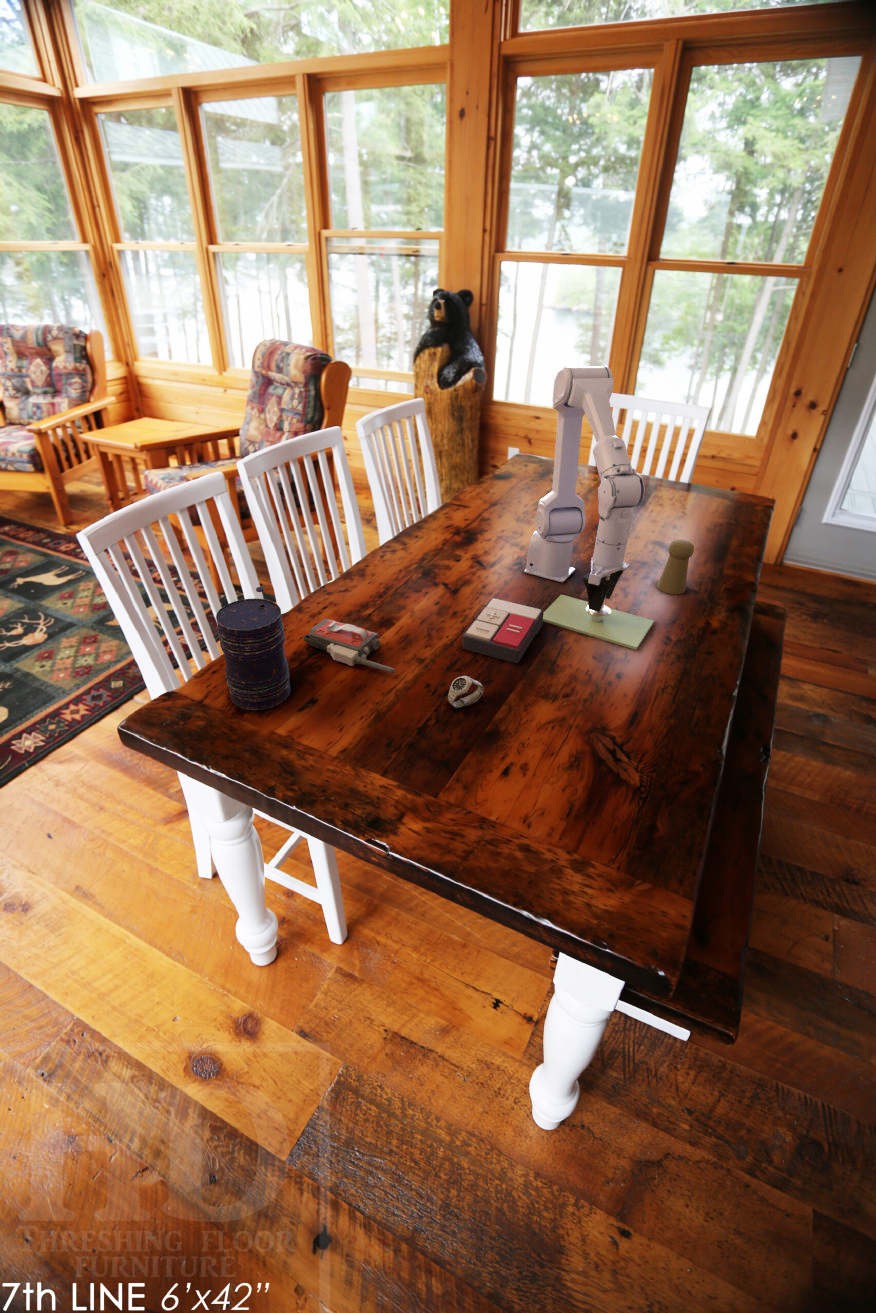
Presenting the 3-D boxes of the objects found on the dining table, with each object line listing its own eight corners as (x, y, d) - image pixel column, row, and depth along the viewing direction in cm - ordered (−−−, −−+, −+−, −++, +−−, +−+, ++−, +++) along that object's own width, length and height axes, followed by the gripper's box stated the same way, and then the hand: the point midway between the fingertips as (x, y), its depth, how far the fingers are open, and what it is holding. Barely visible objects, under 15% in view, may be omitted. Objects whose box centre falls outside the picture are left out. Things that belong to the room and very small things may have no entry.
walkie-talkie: (296, 650, 117) (391, 681, 110) (293, 629, 115) (391, 659, 108) (324, 628, 124) (415, 656, 117) (322, 608, 122) (415, 635, 114)
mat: (538, 620, 129) (538, 617, 129) (560, 596, 138) (561, 594, 138) (636, 650, 121) (636, 647, 121) (653, 623, 130) (654, 620, 129)
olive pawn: (686, 595, 140) (699, 548, 134) (658, 592, 141) (669, 545, 135) (683, 583, 145) (695, 537, 139) (656, 580, 146) (667, 534, 140)
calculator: (462, 632, 117) (491, 594, 128) (461, 651, 120) (490, 612, 131) (519, 647, 114) (544, 607, 125) (517, 667, 116) (542, 625, 127)
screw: (604, 627, 126) (581, 620, 128) (612, 617, 130) (589, 610, 132) (616, 567, 119) (591, 561, 121) (624, 558, 123) (600, 552, 125)
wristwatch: (444, 702, 106) (445, 677, 103) (476, 692, 108) (477, 668, 105) (454, 714, 103) (456, 689, 100) (487, 703, 106) (489, 679, 103)
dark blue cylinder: (260, 718, 101) (244, 618, 91) (216, 696, 105) (197, 599, 95) (303, 687, 108) (293, 592, 98) (260, 668, 112) (247, 575, 102)
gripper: (620, 558, 113) (607, 624, 120) (644, 531, 123) (630, 594, 131) (582, 548, 116) (571, 614, 123) (608, 523, 126) (597, 585, 134)
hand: (599, 603), depth 127 cm, fingers open, 5 cm apart
